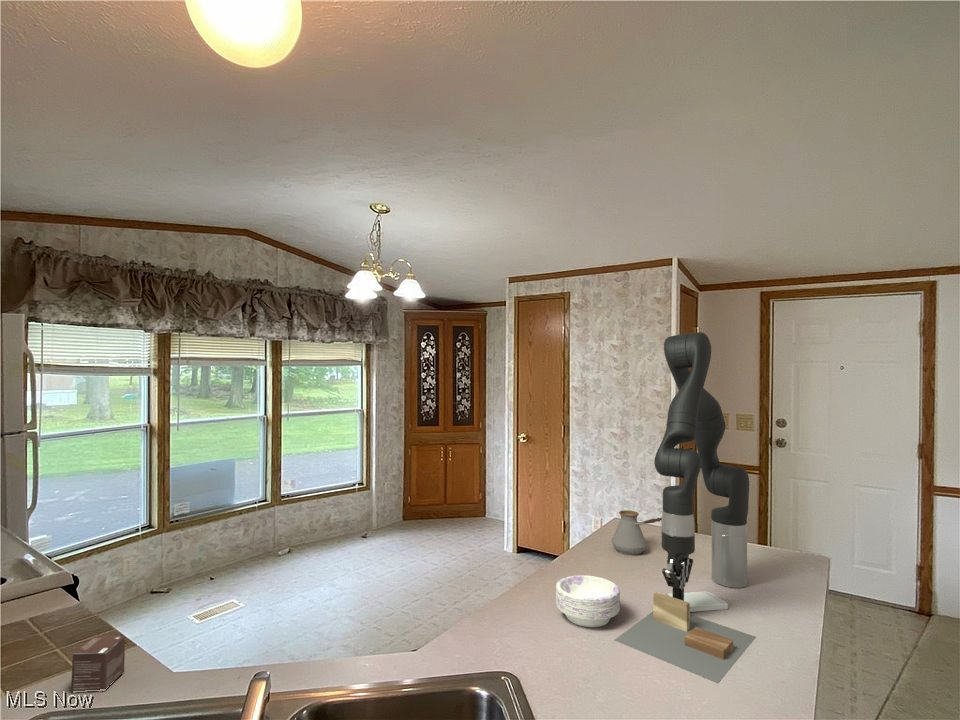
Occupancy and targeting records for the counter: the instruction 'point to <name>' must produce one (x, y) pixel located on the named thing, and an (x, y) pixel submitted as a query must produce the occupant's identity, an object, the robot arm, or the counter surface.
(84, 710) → the counter surface
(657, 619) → the pale oak slab
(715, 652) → the walnut slab
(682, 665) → the rubber mat
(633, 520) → the coffee pot
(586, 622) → the paper bowls
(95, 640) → the box
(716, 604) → the hard drive
